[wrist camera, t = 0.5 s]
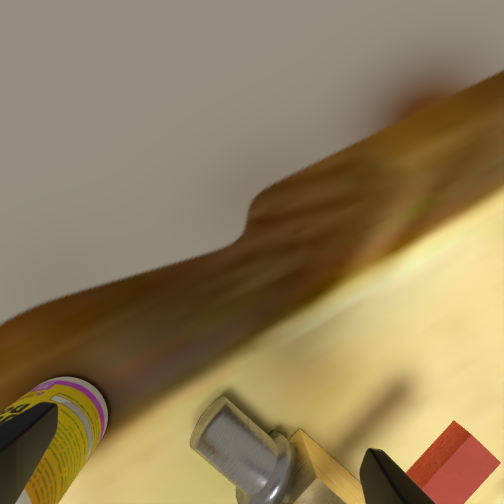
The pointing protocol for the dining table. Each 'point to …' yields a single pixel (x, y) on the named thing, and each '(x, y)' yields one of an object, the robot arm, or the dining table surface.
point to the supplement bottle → (63, 435)
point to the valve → (270, 461)
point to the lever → (453, 466)
